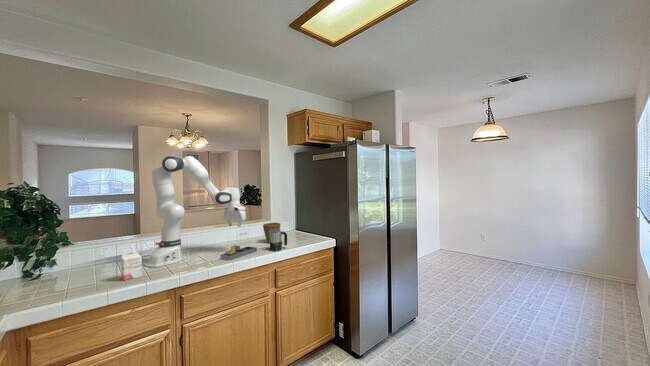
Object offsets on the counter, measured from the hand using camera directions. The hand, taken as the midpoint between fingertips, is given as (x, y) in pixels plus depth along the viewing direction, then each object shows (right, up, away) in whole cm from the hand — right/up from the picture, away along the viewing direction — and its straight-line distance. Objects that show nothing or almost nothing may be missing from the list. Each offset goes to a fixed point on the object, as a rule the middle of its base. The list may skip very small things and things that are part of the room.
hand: (234, 226), depth 199 cm
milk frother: (+30, -19, +8) cm, 36 cm away
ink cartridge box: (-40, -21, -51) cm, 68 cm away
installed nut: (+3, -19, -18) cm, 26 cm away
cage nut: (+1, -19, 0) cm, 19 cm away
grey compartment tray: (+7, -19, -11) cm, 23 cm away
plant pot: (+22, -19, +29) cm, 41 cm away
